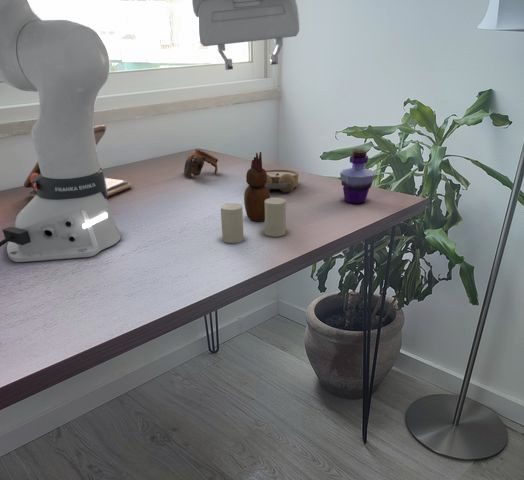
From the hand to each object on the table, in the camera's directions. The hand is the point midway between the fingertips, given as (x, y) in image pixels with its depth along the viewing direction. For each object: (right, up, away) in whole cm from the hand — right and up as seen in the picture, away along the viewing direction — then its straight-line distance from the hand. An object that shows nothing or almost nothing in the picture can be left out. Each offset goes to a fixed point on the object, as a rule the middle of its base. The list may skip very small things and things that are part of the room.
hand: (251, 66), depth 104 cm
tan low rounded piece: (+6, -15, +32) cm, 36 cm away
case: (-47, -16, +32) cm, 59 cm away
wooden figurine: (+1, -29, +12) cm, 31 cm away
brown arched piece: (-16, -7, +44) cm, 47 cm away
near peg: (-4, -35, +1) cm, 36 cm away
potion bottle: (+25, -21, +22) cm, 40 cm away
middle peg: (+5, -33, +4) cm, 34 cm away
